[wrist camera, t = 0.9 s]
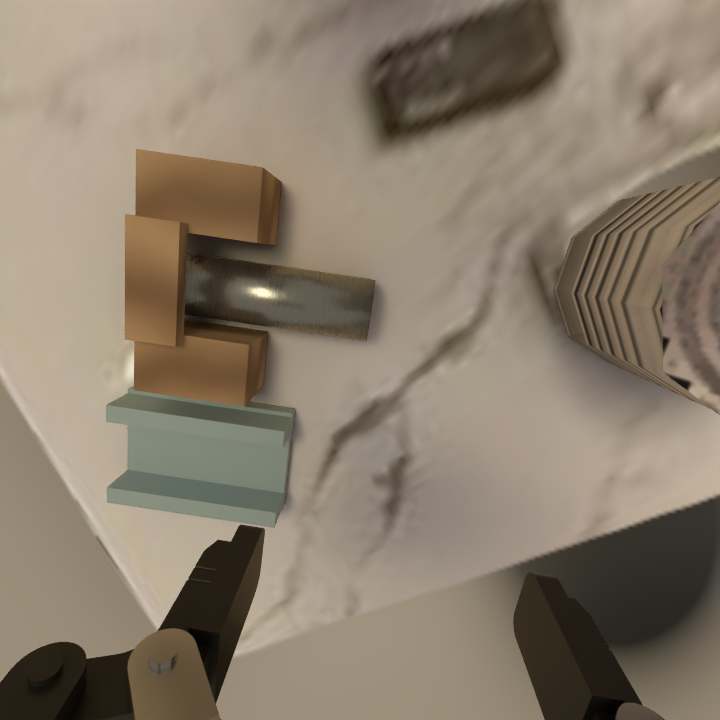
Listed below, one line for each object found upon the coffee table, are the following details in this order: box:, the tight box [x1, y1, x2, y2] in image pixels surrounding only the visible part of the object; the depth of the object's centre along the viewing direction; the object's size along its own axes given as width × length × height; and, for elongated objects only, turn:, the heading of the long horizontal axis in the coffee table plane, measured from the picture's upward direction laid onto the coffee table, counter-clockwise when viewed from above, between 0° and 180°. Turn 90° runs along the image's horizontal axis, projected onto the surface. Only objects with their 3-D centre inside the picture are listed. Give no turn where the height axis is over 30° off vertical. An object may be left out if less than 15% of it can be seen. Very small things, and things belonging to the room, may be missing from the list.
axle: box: [184, 252, 376, 341], centre depth 27 cm, size 14×4×4 cm, turn 82°
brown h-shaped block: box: [125, 149, 282, 407], centre depth 26 cm, size 14×7×6 cm, turn 172°
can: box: [554, 177, 720, 415], centre depth 22 cm, size 11×11×12 cm
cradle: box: [106, 386, 295, 527], centre depth 30 cm, size 8×12×4 cm, turn 82°
